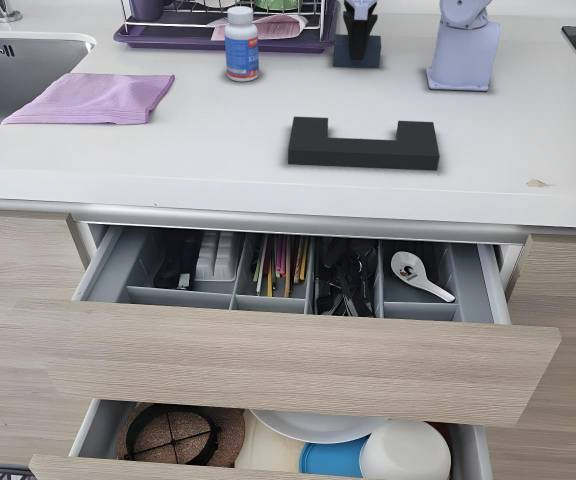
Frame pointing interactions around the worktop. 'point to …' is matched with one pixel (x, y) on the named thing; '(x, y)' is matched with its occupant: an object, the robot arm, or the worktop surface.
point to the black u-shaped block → (364, 146)
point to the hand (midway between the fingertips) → (356, 53)
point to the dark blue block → (343, 56)
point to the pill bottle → (241, 45)
